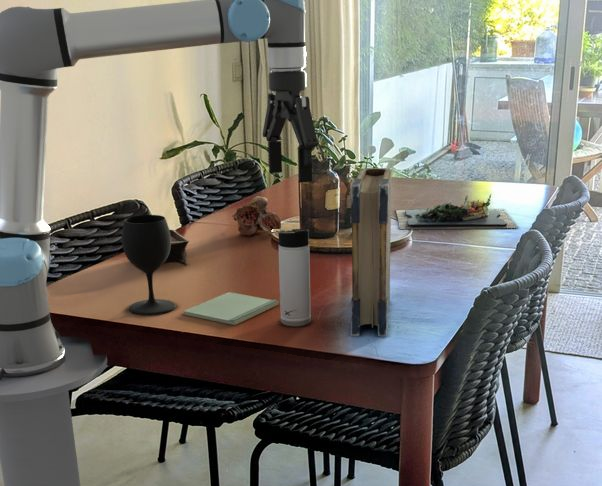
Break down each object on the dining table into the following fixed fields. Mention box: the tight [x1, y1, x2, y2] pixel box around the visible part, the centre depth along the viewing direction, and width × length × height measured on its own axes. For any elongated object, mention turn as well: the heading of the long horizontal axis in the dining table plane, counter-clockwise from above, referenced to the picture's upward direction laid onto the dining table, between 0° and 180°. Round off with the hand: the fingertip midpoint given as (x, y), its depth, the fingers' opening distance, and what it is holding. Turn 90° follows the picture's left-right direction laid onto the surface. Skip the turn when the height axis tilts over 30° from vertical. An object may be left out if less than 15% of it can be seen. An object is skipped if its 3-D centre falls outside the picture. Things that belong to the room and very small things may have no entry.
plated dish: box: [395, 193, 518, 230], centre depth 267 cm, size 35×28×7 cm
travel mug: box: [277, 228, 312, 328], centre depth 177 cm, size 6×7×20 cm
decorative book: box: [349, 167, 392, 338], centre depth 177 cm, size 23×7×30 cm, turn 172°
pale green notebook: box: [182, 291, 280, 326], centre depth 189 cm, size 16×14×1 cm
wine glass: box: [121, 214, 177, 316], centre depth 188 cm, size 10×10×20 cm
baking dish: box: [164, 229, 190, 266], centre depth 226 cm, size 14×18×10 cm
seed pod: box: [232, 195, 282, 237], centre depth 253 cm, size 13×16×15 cm
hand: (290, 177), depth 179 cm, fingers open, 13 cm apart
